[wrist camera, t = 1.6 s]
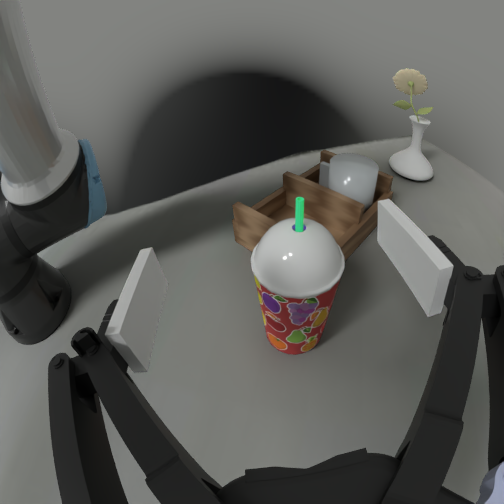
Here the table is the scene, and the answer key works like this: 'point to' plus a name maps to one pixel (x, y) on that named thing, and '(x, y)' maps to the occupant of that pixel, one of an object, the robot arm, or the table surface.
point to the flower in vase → (412, 158)
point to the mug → (351, 177)
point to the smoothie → (296, 280)
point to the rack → (312, 209)
